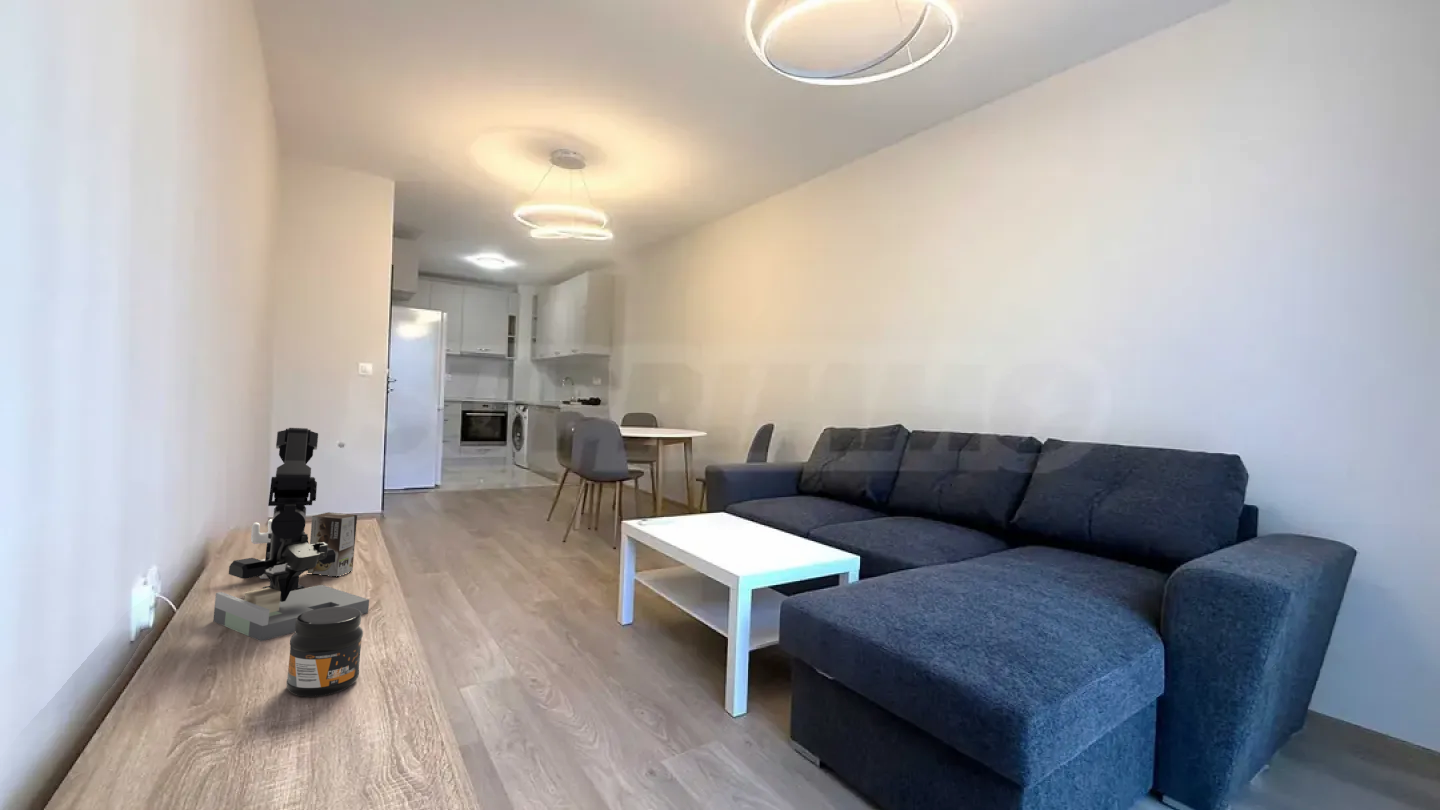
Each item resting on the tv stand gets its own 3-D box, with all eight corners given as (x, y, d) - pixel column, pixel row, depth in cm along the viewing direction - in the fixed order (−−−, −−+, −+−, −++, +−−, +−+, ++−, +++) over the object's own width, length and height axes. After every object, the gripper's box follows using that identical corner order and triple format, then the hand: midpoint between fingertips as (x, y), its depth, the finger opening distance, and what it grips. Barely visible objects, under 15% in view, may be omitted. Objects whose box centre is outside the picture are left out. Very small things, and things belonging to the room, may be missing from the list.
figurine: (293, 576, 160) (299, 520, 160) (249, 581, 153) (255, 523, 153) (288, 570, 165) (293, 515, 165) (244, 574, 158) (250, 518, 158)
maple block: (243, 611, 125) (244, 592, 125) (267, 606, 129) (268, 587, 129) (255, 616, 123) (257, 596, 123) (279, 610, 127) (280, 591, 127)
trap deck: (213, 621, 126) (215, 592, 126) (320, 596, 146) (323, 572, 146) (261, 641, 118) (263, 610, 118) (368, 612, 138) (370, 586, 138)
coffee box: (353, 571, 168) (358, 514, 168) (336, 577, 162) (342, 518, 162) (323, 568, 169) (328, 511, 169) (305, 574, 162) (311, 515, 163)
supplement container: (294, 705, 95) (301, 630, 96) (278, 682, 102) (285, 612, 103) (367, 687, 103) (373, 617, 103) (348, 666, 110) (354, 601, 110)
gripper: (261, 541, 118) (254, 621, 118) (354, 528, 135) (348, 598, 134) (230, 533, 123) (224, 609, 122) (323, 521, 139) (318, 588, 139)
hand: (282, 601), depth 129 cm, fingers closed
